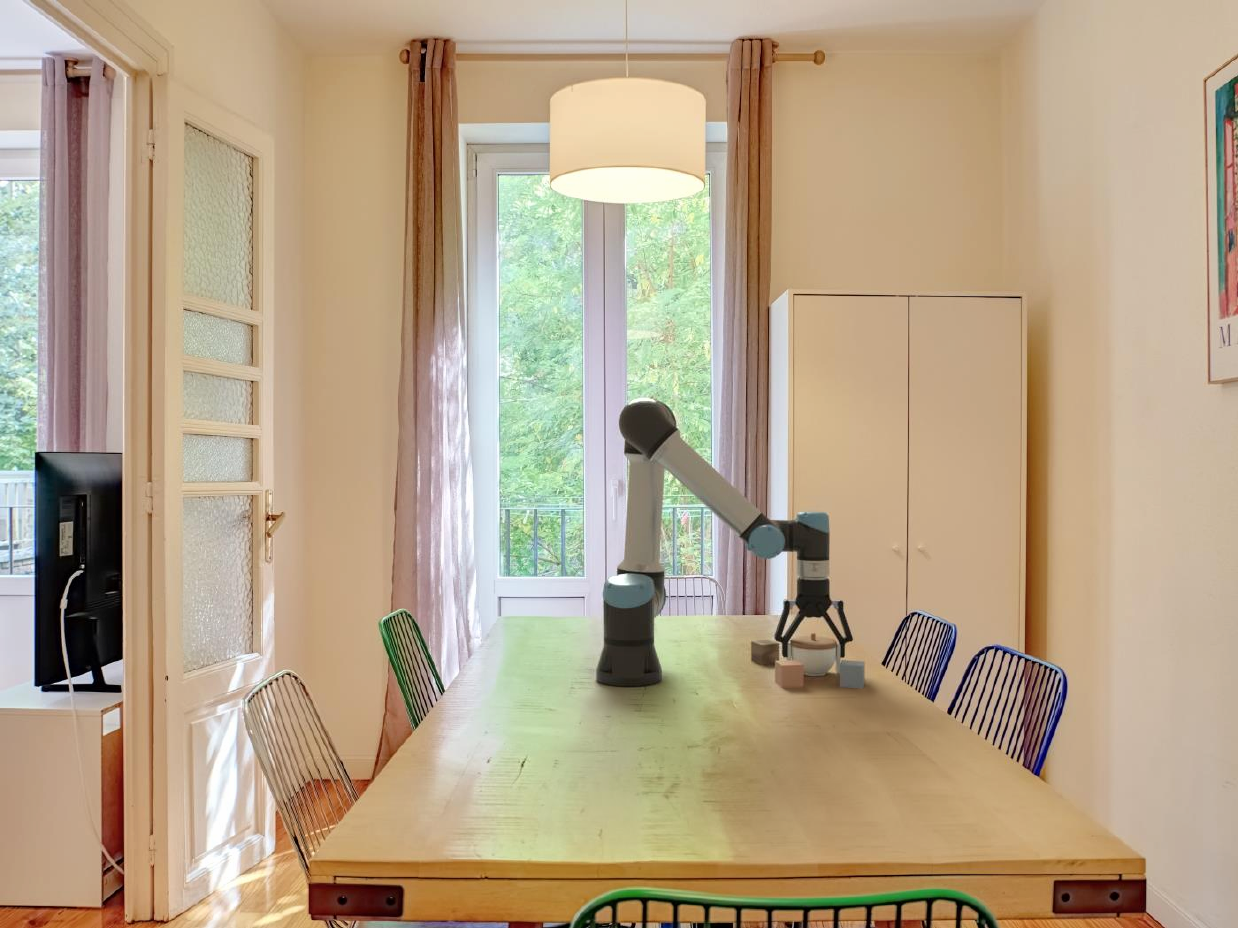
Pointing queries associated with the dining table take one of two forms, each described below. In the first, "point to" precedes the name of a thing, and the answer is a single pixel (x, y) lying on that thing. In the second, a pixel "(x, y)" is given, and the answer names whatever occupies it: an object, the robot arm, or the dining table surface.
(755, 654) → the cube walnut
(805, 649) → the lidded jar
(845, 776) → the dining table surface
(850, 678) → the cube slate
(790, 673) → the cube terracotta
